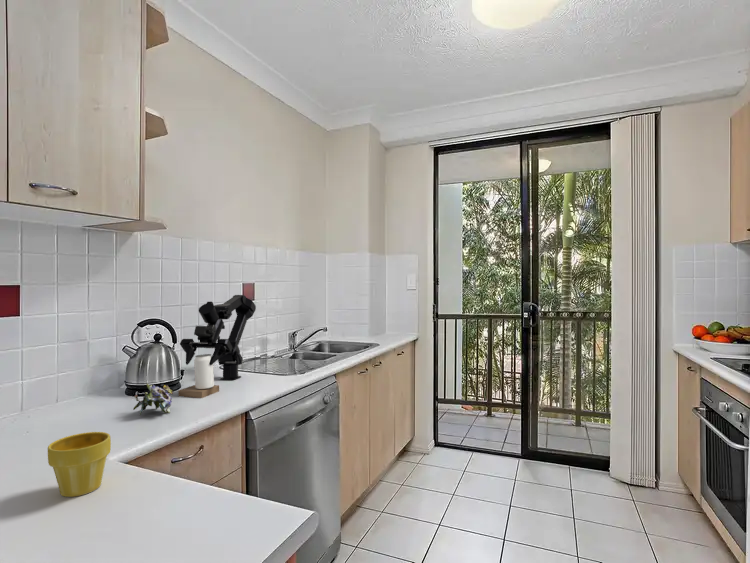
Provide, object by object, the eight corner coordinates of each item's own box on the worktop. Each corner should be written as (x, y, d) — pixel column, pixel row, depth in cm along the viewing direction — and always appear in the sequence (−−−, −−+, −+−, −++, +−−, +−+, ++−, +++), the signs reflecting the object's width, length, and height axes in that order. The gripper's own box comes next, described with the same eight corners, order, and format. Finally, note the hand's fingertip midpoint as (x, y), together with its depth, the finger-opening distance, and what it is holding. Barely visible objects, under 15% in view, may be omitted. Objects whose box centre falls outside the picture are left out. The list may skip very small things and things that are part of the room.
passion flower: (167, 430, 136) (174, 404, 131) (128, 429, 131) (134, 402, 126) (169, 402, 145) (176, 377, 140) (133, 400, 140) (139, 374, 135)
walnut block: (196, 392, 166) (196, 384, 166) (219, 393, 164) (219, 385, 164) (178, 398, 157) (178, 390, 157) (202, 400, 154) (202, 391, 154)
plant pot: (40, 507, 79) (40, 454, 79) (56, 483, 88) (55, 435, 88) (106, 495, 83) (106, 445, 83) (114, 474, 92) (114, 428, 93)
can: (201, 390, 155) (199, 357, 155) (192, 388, 159) (190, 356, 159) (217, 386, 160) (216, 354, 161) (208, 385, 164) (206, 353, 165)
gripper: (182, 317, 165) (165, 351, 154) (228, 317, 163) (215, 351, 152) (193, 335, 173) (177, 368, 162) (237, 335, 171) (225, 369, 160)
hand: (198, 364), depth 159 cm, fingers open, 9 cm apart
